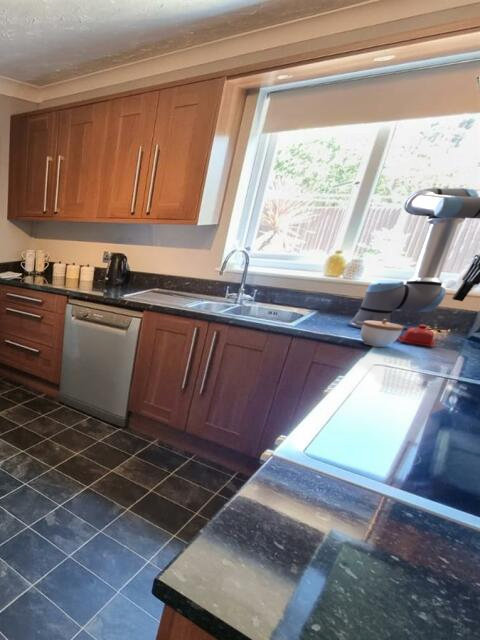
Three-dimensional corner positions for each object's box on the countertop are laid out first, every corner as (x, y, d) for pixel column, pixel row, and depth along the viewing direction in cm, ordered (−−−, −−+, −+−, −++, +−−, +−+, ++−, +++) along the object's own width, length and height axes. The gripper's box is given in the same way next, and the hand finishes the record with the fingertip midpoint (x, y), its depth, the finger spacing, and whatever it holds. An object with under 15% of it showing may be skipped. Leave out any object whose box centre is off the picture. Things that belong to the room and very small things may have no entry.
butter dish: (434, 349, 178) (444, 329, 175) (397, 343, 185) (405, 324, 182) (432, 344, 186) (441, 325, 182) (396, 338, 193) (404, 320, 190)
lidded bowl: (397, 351, 173) (409, 324, 169) (357, 345, 179) (368, 319, 175) (391, 344, 182) (402, 319, 178) (353, 339, 189) (363, 314, 185)
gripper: (524, 242, 149) (477, 306, 160) (505, 238, 159) (462, 298, 170) (495, 238, 151) (451, 301, 163) (479, 234, 162) (438, 294, 173)
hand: (457, 300), depth 167 cm, fingers closed
